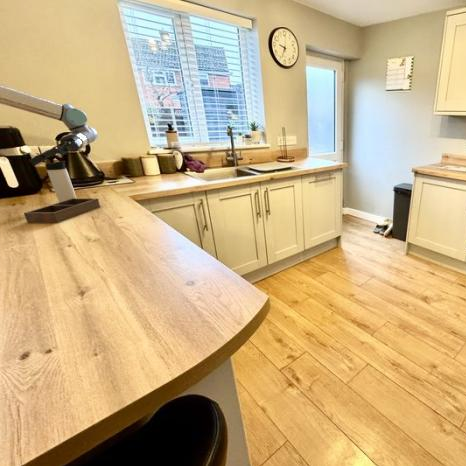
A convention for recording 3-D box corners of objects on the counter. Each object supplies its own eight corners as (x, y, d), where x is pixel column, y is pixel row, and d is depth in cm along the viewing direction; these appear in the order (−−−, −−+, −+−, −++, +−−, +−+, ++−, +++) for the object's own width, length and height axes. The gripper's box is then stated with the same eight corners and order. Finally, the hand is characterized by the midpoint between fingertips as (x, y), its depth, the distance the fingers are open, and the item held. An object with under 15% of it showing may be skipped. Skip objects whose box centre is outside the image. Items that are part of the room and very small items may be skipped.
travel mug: (78, 206, 132) (63, 161, 125) (59, 208, 129) (42, 162, 121) (80, 202, 137) (65, 160, 130) (62, 204, 133) (45, 161, 126)
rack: (28, 223, 110) (23, 213, 108) (75, 207, 130) (72, 198, 128) (58, 223, 110) (53, 213, 109) (100, 207, 130) (97, 198, 129)
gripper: (102, 140, 145) (78, 155, 129) (57, 157, 146) (28, 174, 129) (90, 126, 141) (64, 140, 124) (44, 143, 142) (11, 159, 125)
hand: (45, 157), depth 127 cm, fingers open, 13 cm apart
